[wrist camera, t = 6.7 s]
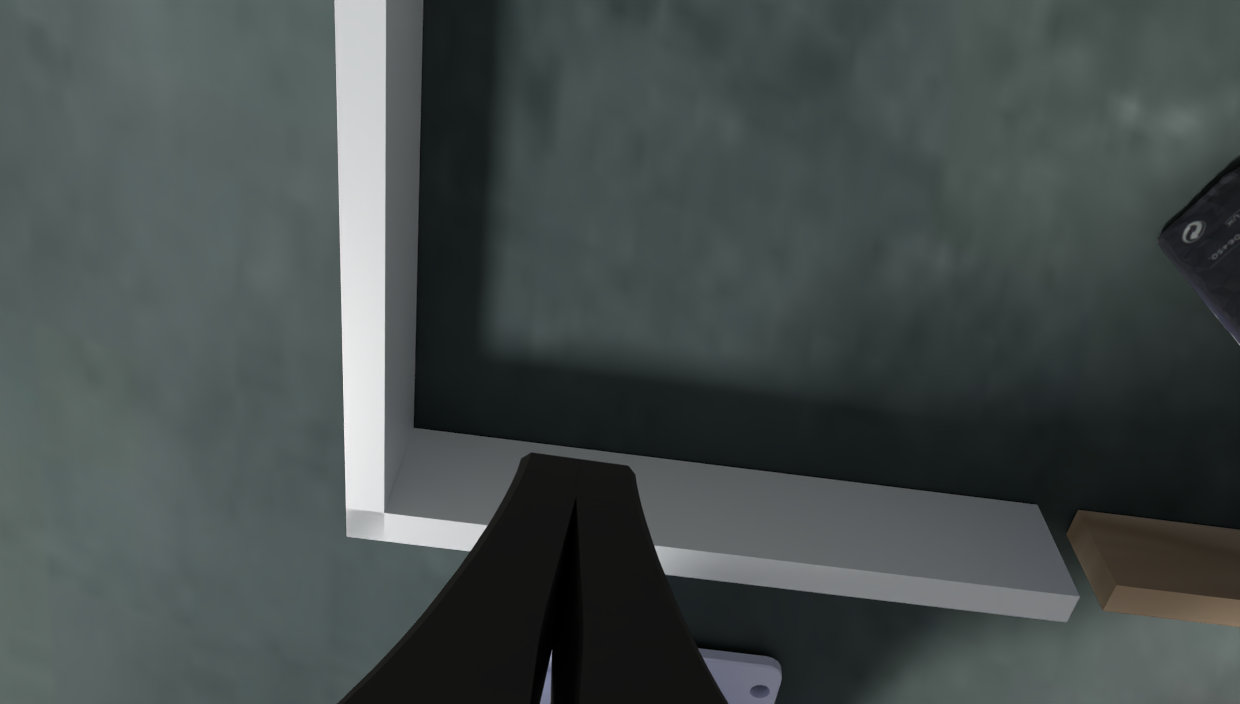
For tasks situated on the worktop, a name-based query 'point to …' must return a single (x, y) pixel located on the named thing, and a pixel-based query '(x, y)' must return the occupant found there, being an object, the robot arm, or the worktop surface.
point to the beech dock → (1160, 567)
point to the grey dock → (669, 489)
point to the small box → (1211, 249)
